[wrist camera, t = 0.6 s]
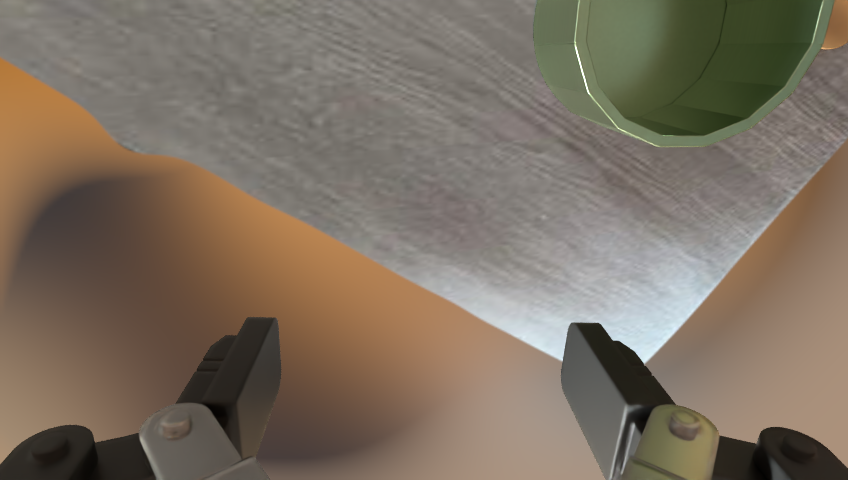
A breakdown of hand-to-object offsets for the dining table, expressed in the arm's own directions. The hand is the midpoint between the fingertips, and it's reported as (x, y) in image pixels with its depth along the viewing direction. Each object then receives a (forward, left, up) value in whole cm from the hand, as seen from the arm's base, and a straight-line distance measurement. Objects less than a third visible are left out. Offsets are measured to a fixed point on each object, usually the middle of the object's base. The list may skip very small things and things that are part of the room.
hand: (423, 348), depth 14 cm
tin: (-9, +16, -27) cm, 33 cm away
